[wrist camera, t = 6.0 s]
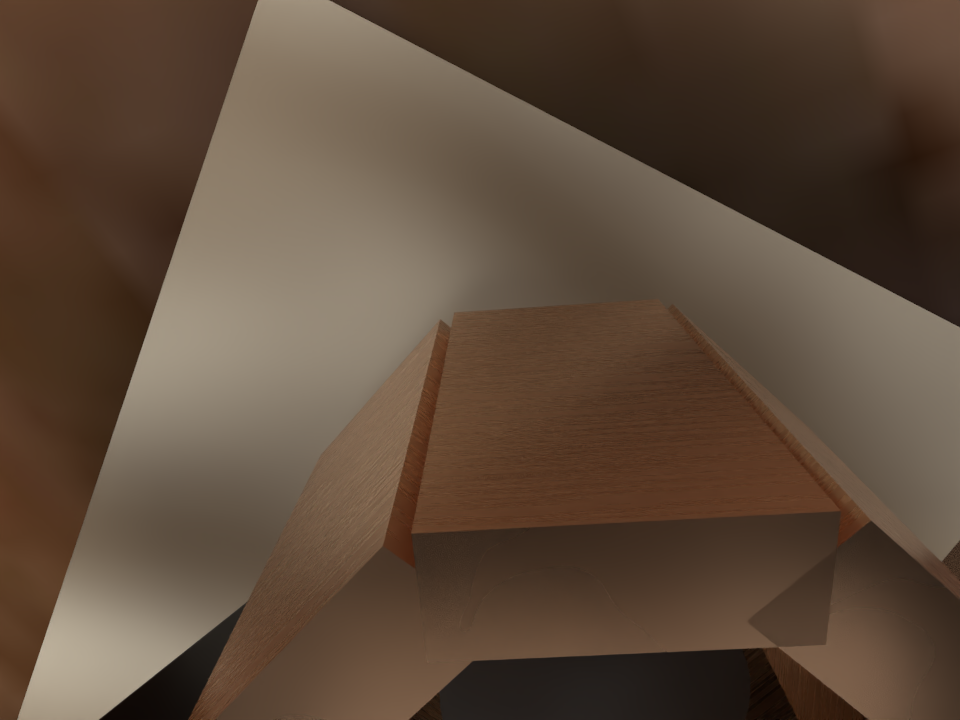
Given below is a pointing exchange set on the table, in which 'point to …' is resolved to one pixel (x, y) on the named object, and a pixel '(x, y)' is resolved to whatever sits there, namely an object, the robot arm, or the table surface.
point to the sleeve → (586, 534)
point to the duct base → (407, 320)
